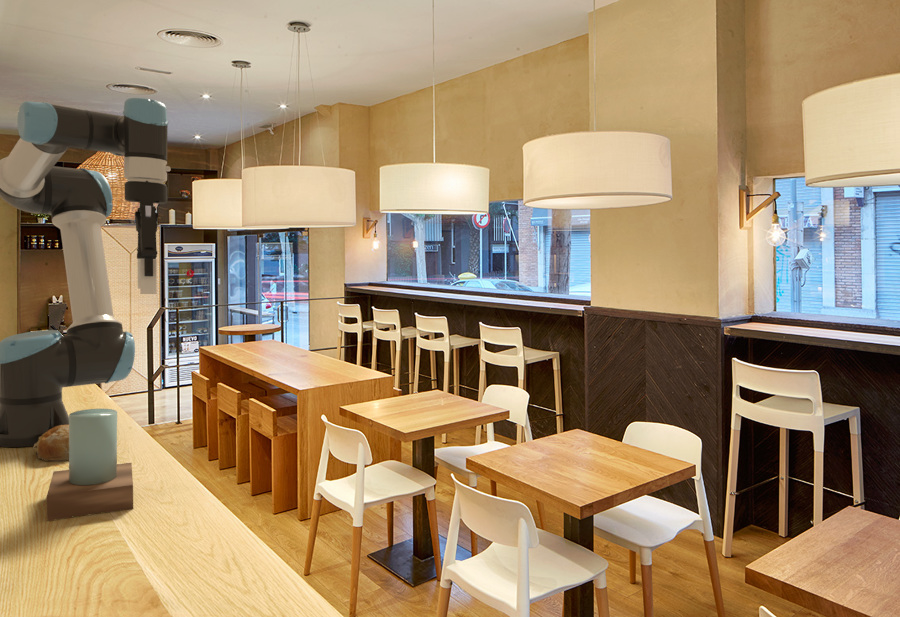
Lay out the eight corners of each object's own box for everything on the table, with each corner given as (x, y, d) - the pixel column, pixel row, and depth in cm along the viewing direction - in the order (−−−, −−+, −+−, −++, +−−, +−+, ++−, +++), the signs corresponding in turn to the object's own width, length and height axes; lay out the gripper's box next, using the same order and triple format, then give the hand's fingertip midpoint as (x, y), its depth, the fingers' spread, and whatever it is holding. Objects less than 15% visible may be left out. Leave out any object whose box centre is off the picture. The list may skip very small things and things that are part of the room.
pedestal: (54, 494, 109) (53, 471, 109) (131, 484, 115) (131, 462, 114) (47, 520, 98) (46, 496, 98) (133, 508, 104) (133, 484, 104)
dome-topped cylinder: (70, 473, 108) (71, 410, 107) (117, 469, 111) (117, 407, 110) (66, 487, 101) (67, 419, 101) (116, 482, 104) (116, 416, 104)
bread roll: (58, 481, 125) (72, 447, 123) (17, 455, 126) (31, 421, 125) (95, 465, 134) (109, 433, 133) (57, 441, 136) (70, 409, 134)
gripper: (172, 178, 113) (172, 296, 115) (162, 187, 135) (162, 286, 137) (125, 174, 110) (126, 296, 112) (123, 184, 132) (124, 286, 134)
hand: (146, 291), depth 124 cm, fingers open, 13 cm apart
